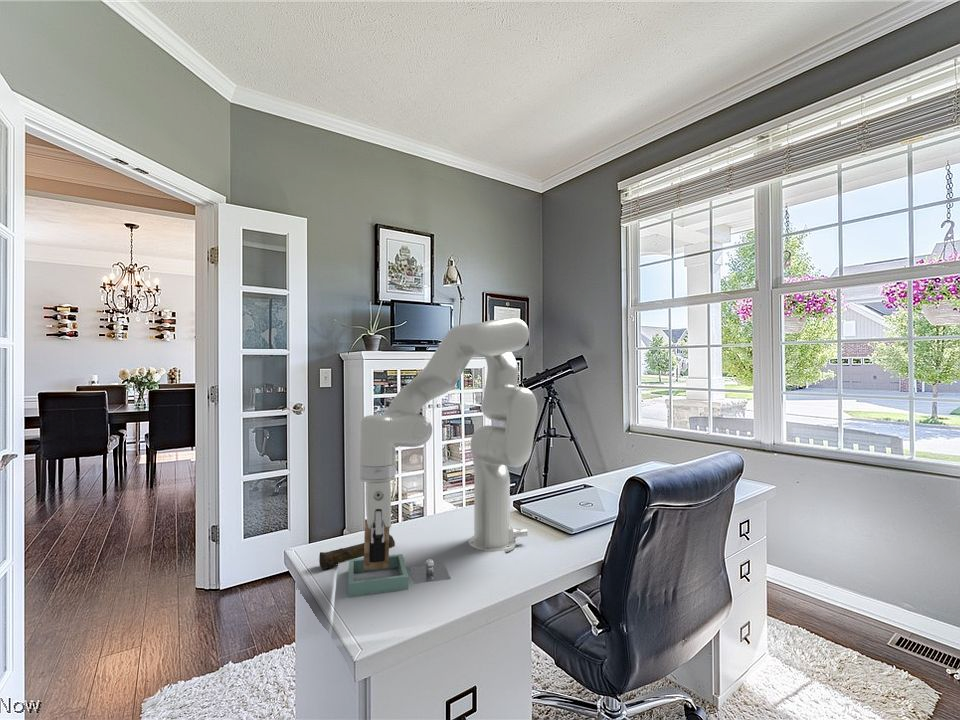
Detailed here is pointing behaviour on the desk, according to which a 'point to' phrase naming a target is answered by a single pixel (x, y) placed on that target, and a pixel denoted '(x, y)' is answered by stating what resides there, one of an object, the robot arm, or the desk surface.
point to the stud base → (429, 578)
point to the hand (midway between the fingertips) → (376, 555)
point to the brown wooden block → (367, 541)
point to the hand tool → (344, 554)
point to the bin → (378, 583)
